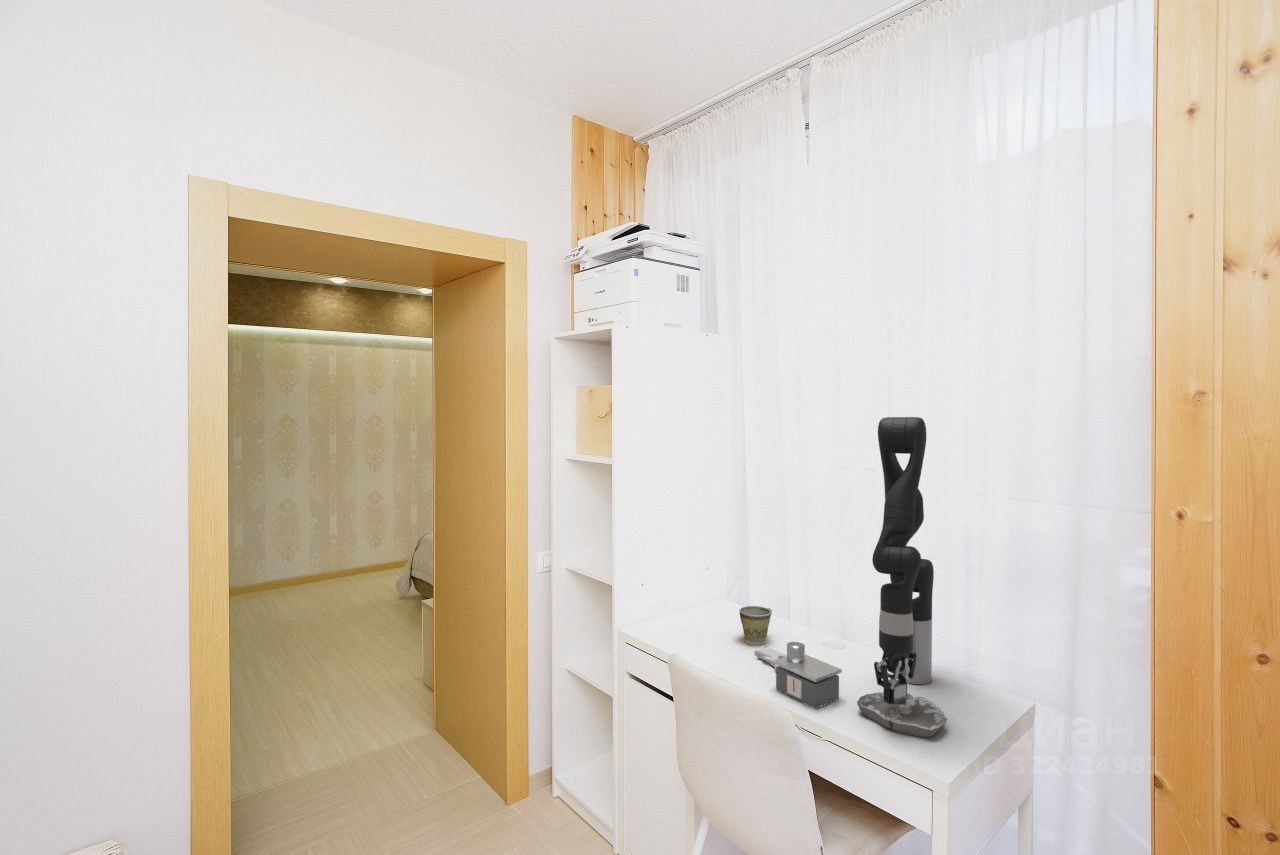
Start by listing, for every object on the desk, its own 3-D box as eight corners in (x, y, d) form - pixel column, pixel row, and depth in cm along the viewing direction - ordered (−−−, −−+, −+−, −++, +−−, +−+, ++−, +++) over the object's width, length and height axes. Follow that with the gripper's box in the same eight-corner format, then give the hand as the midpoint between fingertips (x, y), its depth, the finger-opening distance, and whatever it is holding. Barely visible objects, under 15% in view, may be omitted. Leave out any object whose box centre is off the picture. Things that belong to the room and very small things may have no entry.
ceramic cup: (756, 650, 193) (756, 618, 192) (732, 640, 200) (732, 610, 200) (783, 640, 201) (783, 609, 201) (759, 631, 209) (759, 601, 208)
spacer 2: (883, 695, 151) (883, 678, 151) (903, 696, 150) (903, 680, 150) (887, 703, 146) (887, 687, 146) (908, 705, 146) (908, 688, 146)
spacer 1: (786, 656, 169) (786, 641, 168) (804, 657, 168) (804, 642, 168) (787, 662, 164) (787, 647, 164) (805, 664, 163) (805, 648, 163)
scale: (774, 690, 165) (774, 667, 165) (799, 680, 171) (799, 659, 171) (813, 709, 155) (813, 685, 154) (838, 698, 160) (839, 675, 160)
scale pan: (773, 663, 166) (773, 660, 166) (799, 654, 171) (799, 651, 171) (815, 682, 154) (815, 679, 154) (841, 672, 160) (841, 669, 160)
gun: (746, 650, 184) (767, 642, 190) (746, 661, 184) (767, 653, 191) (798, 673, 170) (819, 663, 177) (798, 685, 170) (818, 675, 177)
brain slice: (957, 720, 150) (958, 707, 149) (933, 748, 137) (933, 735, 137) (876, 694, 163) (877, 683, 163) (848, 718, 151) (848, 706, 150)
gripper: (892, 639, 141) (891, 714, 141) (927, 627, 149) (927, 698, 149) (863, 630, 147) (863, 702, 147) (899, 618, 155) (898, 686, 156)
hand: (895, 699), depth 148 cm, fingers closed on spacer 2, 4 cm apart
